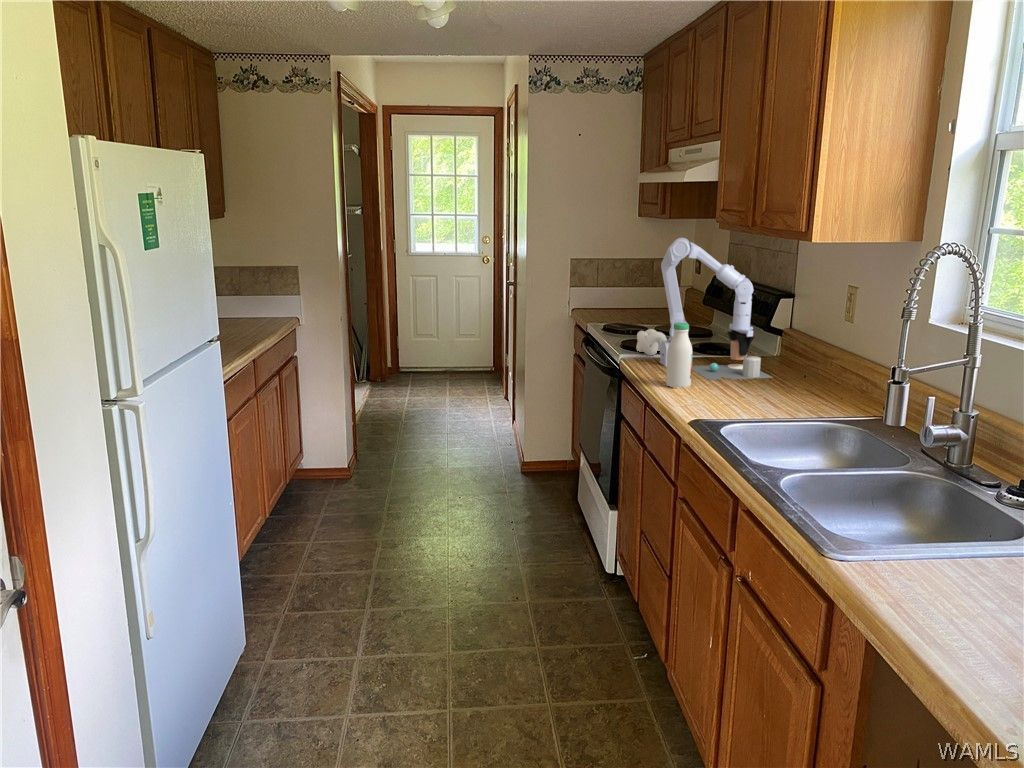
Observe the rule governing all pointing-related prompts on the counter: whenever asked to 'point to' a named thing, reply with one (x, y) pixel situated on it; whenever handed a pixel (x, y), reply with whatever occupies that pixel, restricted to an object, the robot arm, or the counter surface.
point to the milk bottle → (679, 358)
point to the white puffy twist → (650, 341)
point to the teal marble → (714, 367)
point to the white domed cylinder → (751, 366)
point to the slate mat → (725, 372)
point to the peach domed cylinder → (735, 351)
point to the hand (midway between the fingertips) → (739, 353)
